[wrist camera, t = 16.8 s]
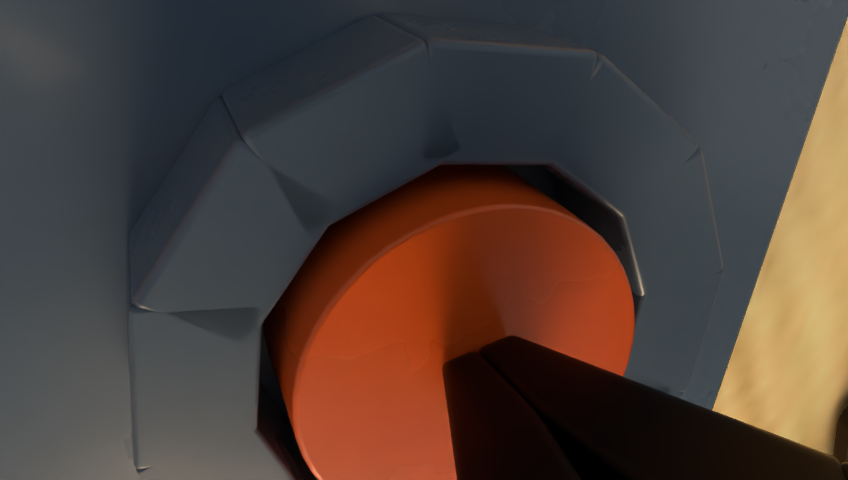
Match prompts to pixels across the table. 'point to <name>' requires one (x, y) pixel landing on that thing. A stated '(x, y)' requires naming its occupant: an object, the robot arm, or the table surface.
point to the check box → (354, 188)
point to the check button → (433, 314)
